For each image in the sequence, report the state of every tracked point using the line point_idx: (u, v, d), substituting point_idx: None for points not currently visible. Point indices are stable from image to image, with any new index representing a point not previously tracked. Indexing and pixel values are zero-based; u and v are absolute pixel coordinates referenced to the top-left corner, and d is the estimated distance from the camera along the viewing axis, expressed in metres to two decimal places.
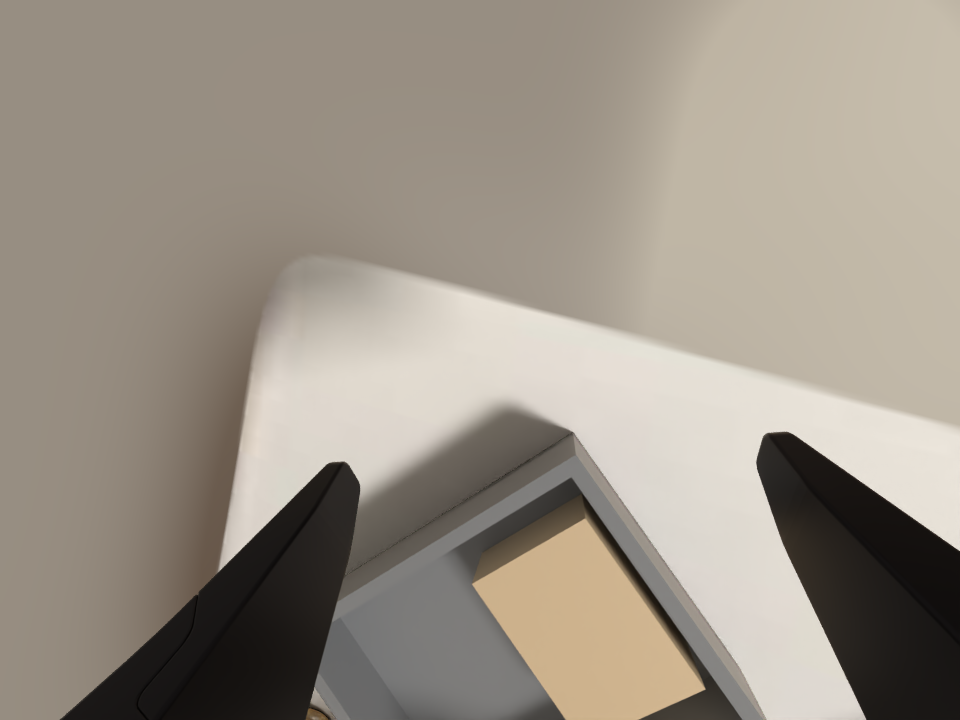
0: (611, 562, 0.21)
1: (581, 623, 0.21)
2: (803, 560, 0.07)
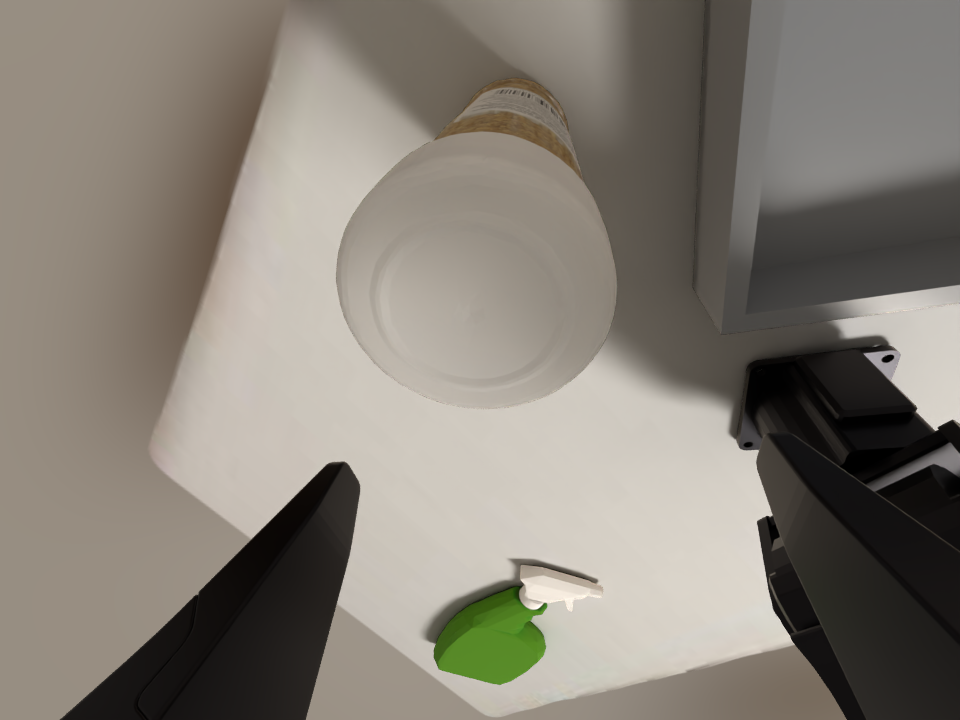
0: None
1: None
2: (803, 560, 0.07)
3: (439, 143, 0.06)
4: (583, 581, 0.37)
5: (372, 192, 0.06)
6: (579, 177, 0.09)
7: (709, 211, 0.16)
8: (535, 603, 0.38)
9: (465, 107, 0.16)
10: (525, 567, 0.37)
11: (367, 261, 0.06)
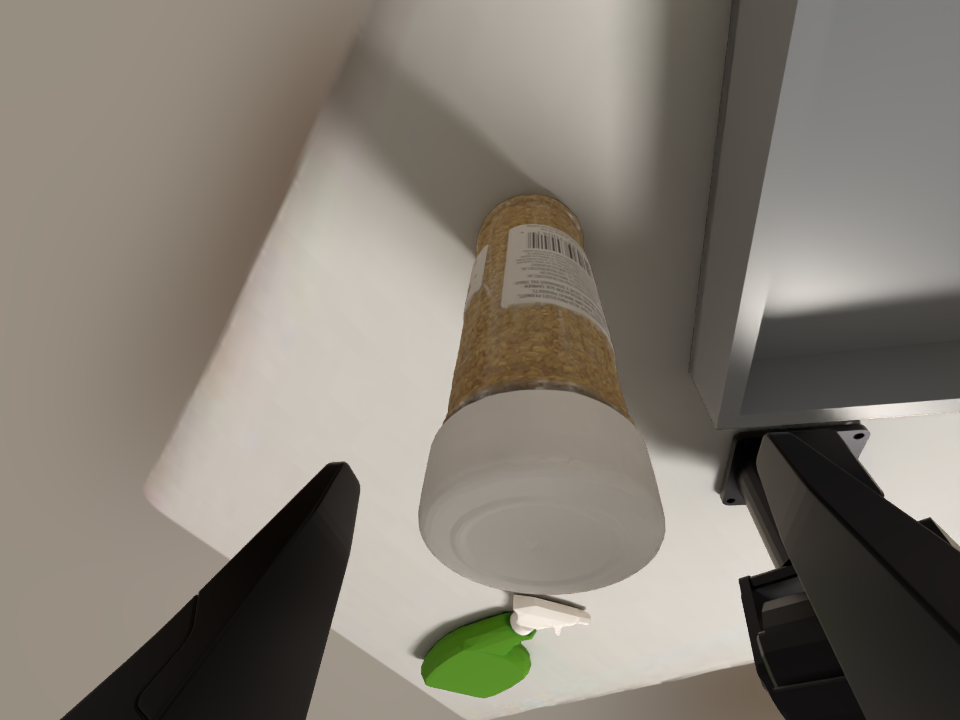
0: None
1: None
2: (803, 560, 0.07)
3: (518, 412, 0.07)
4: (572, 610, 0.39)
5: (465, 470, 0.07)
6: (615, 365, 0.10)
7: (710, 319, 0.18)
8: (526, 630, 0.40)
9: (487, 216, 0.17)
10: (517, 597, 0.39)
11: (453, 514, 0.07)
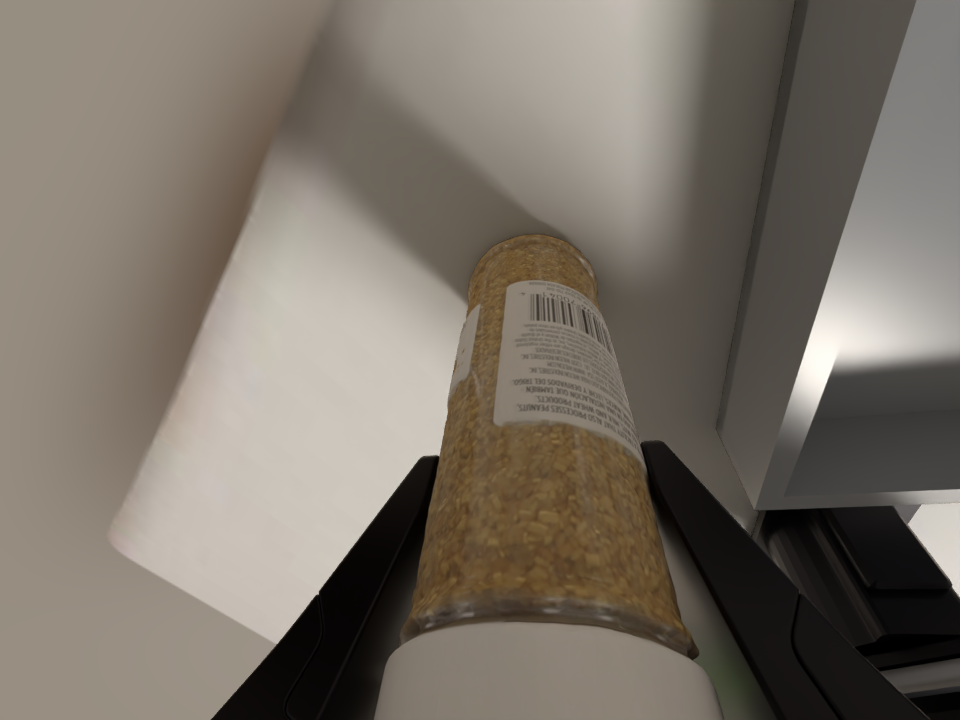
0: None
1: None
2: None
3: (515, 687, 0.04)
4: None
5: None
6: (653, 508, 0.07)
7: (748, 381, 0.15)
8: None
9: (481, 259, 0.14)
10: None
11: None
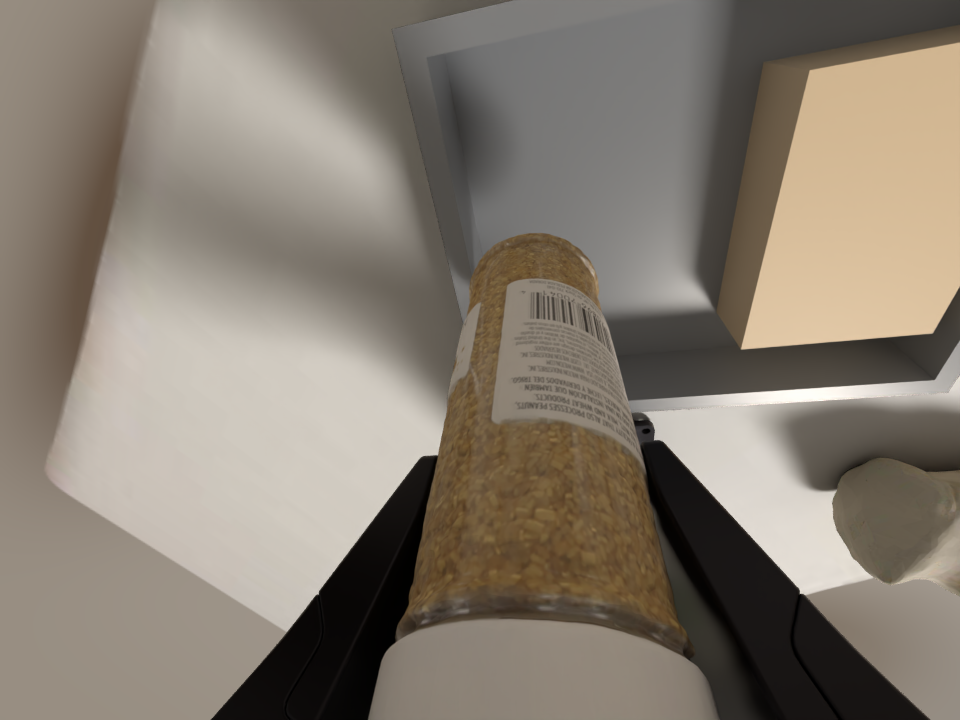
0: None
1: (896, 206, 0.14)
2: None
3: (509, 684, 0.04)
4: None
5: None
6: (651, 507, 0.07)
7: None
8: None
9: (482, 258, 0.14)
10: None
11: None
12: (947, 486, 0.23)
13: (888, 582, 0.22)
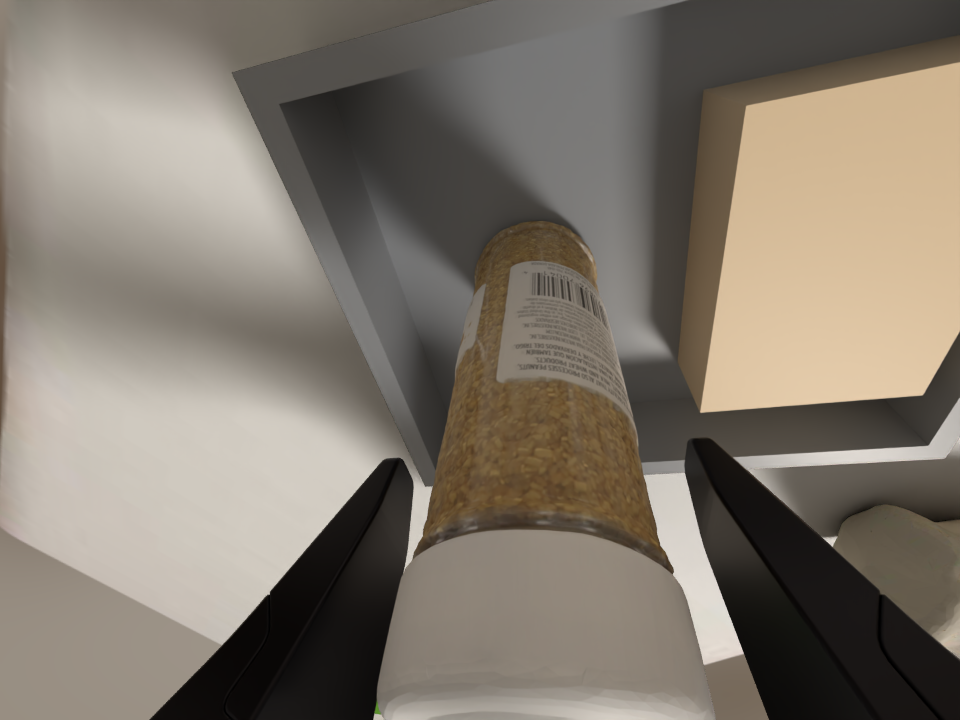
0: None
1: (868, 258, 0.12)
2: (717, 562, 0.08)
3: (511, 573, 0.05)
4: None
5: (434, 669, 0.05)
6: (639, 457, 0.08)
7: None
8: None
9: (487, 245, 0.15)
10: None
11: (420, 714, 0.05)
12: None
13: None
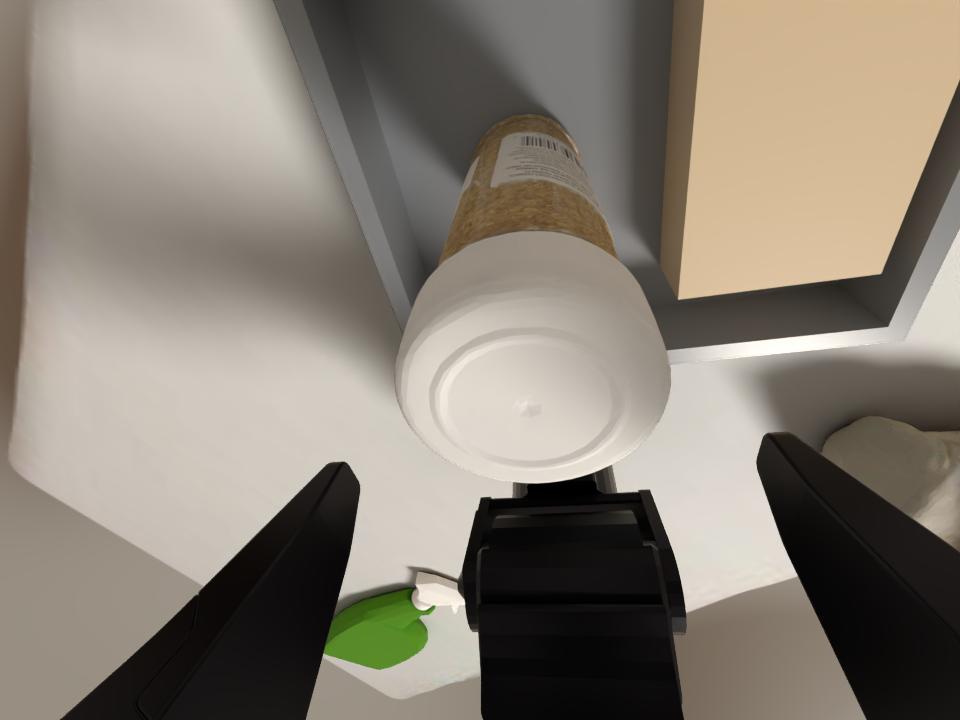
0: None
1: (823, 125, 0.13)
2: (803, 560, 0.07)
3: (504, 247, 0.06)
4: None
5: (443, 302, 0.06)
6: (614, 248, 0.09)
7: None
8: (425, 605, 0.42)
9: None
10: (421, 574, 0.41)
11: (432, 362, 0.06)
12: (940, 442, 0.21)
13: None
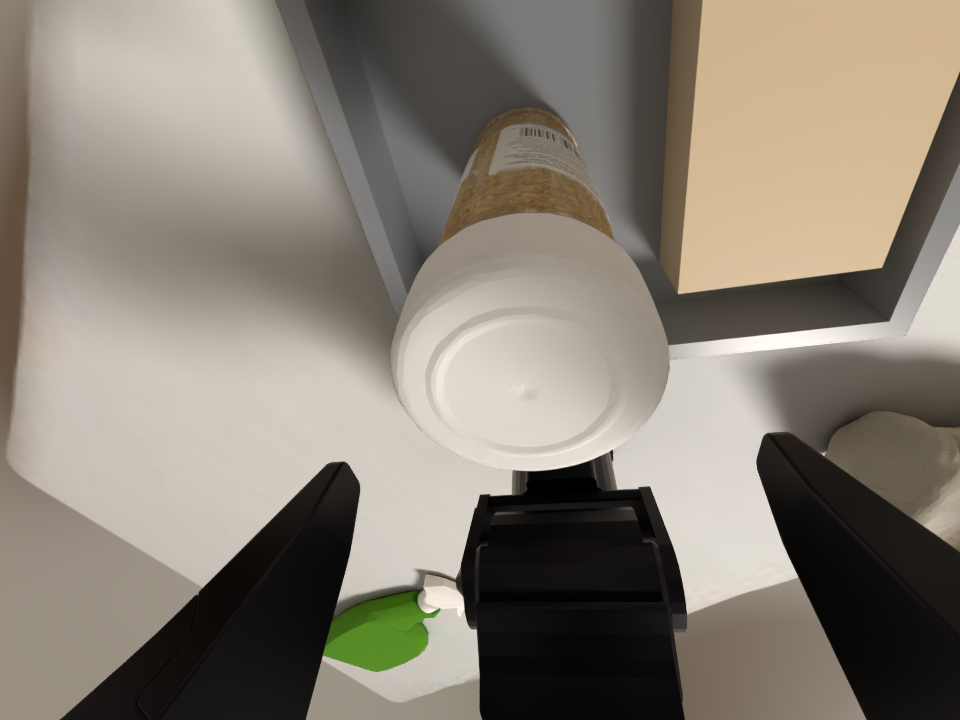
0: None
1: (823, 116, 0.13)
2: (803, 560, 0.07)
3: (501, 228, 0.06)
4: None
5: (439, 281, 0.06)
6: (613, 236, 0.09)
7: None
8: (431, 608, 0.42)
9: None
10: (429, 576, 0.41)
11: (427, 343, 0.06)
12: (950, 436, 0.21)
13: None
